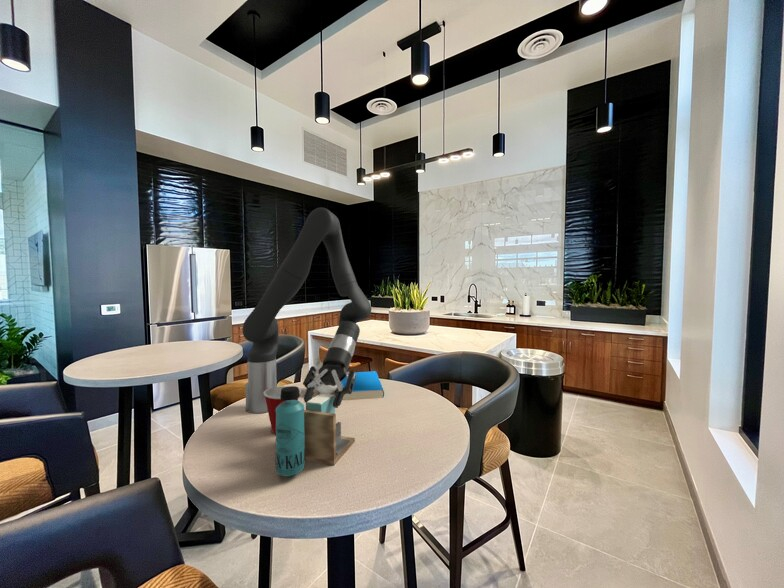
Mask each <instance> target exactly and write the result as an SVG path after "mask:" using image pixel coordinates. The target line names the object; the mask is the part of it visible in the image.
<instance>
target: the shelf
mask: <svg viewBox="0 0 784 588" xmlns="http://www.w3.org/2000/svg"><path fill="white" fill-rule="evenodd" d="M341 423H342V422H341V421H340V422H339V421H337V414H336V413H335V414H333V413H325V412H317V411H309V410H306V409H304V433H305V461H308V462H314V463H319V464H325V465H330V466H335V465H336V464H337V463H338V461H339V460H340V459H341V458H342V457H343V456H344V454H346V452H347V451H348V450H349V449H350V448H351V447H352V445H353V444H354V443H355V441H356V438H355V437H350V436H342V424H341Z"/></svg>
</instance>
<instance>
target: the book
mask: <svg viewBox="0 0 784 588" xmlns="http://www.w3.org/2000/svg"><path fill="white" fill-rule="evenodd" d="M354 372H355V374H356V379H355V383H354V386H353V390H352V393H351V394H345V395H344V396H343V399H342V401H351V400H353V401H354V400H363V399H364V400H366V399H381V398H384V396H385V390H384V388H383V385H382V383H381V380H380V377H379V375H378V373H377V370H376V371H375V370H374V371H358V372H356V371H354ZM347 379H348V378H347V376H346V377H345V378H344V379H343V380H342V381H341V382H342V384H343V387H346V383H347Z"/></svg>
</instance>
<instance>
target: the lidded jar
mask: <svg viewBox="0 0 784 588" xmlns="http://www.w3.org/2000/svg"><path fill="white" fill-rule="evenodd" d="M318 375H319V374H317V376H318ZM317 376H315V377H317ZM320 381H321V379H320V380H319V382H320ZM337 390H338V388H337V385H335V386H331V385H323V386H321V387H318V388H317V389H316V391H318V393H319V394H320V393H321V394H330V395H334V394H335V392H337Z"/></svg>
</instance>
